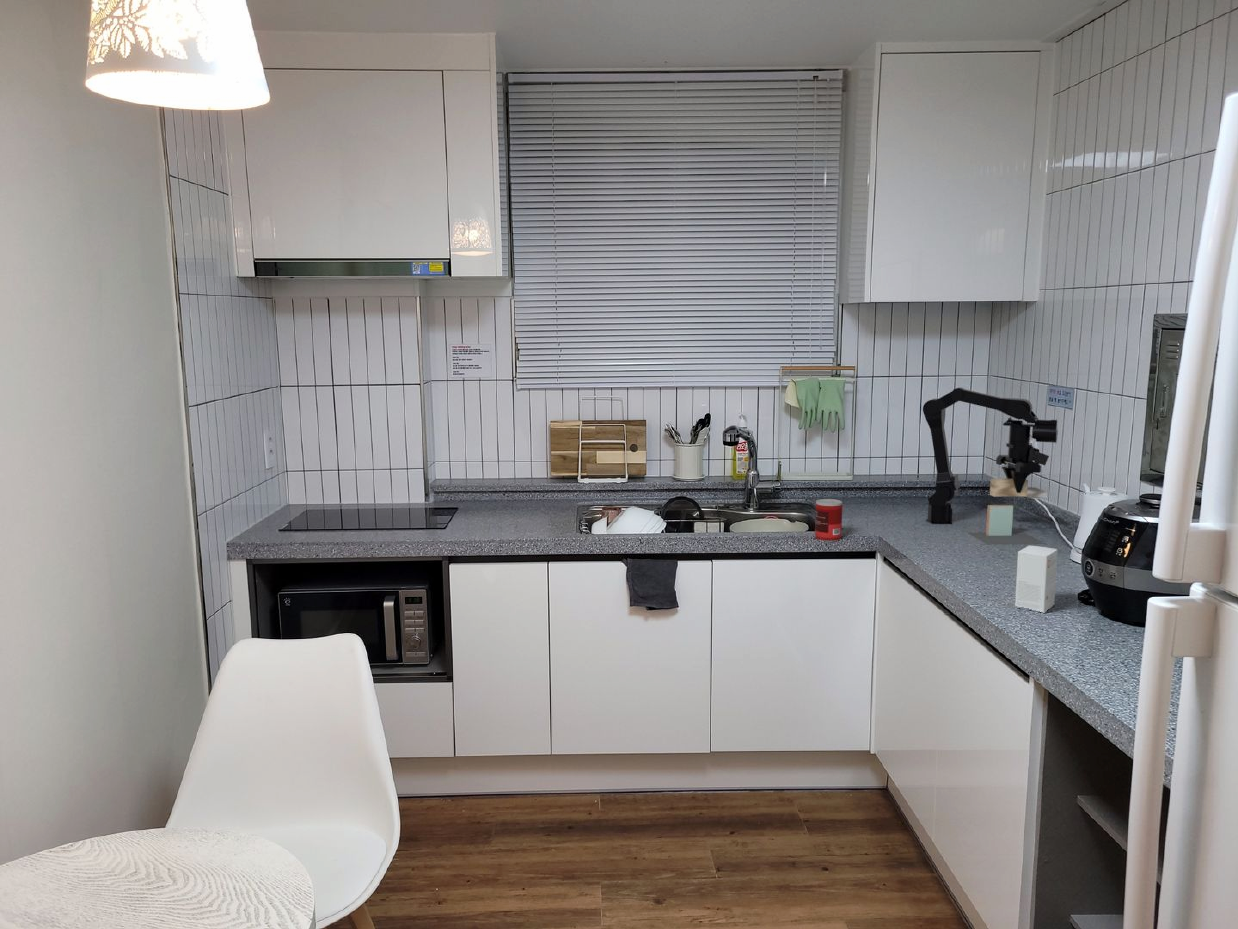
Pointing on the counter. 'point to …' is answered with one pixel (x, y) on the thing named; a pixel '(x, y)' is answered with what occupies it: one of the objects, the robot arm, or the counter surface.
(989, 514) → the tile
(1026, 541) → the mat
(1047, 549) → the small box
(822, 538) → the canned food
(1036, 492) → the beige l-shaped piece
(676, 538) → the counter surface
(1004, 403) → the robot arm
